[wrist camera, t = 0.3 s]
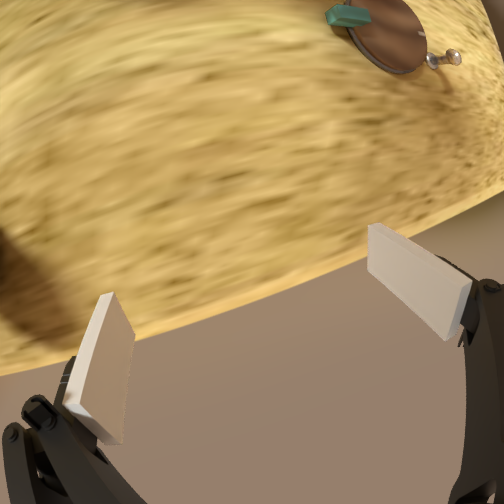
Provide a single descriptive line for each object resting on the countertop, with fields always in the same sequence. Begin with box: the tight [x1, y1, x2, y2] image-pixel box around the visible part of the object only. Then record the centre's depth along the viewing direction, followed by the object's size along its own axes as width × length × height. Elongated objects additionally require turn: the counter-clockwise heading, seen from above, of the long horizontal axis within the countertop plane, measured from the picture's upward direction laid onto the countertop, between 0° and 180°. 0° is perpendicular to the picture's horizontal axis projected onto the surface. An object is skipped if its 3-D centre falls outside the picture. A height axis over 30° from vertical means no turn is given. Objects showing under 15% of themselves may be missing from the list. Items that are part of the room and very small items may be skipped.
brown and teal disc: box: [325, 0, 427, 71], centre depth 29 cm, size 17×22×4 cm
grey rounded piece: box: [425, 49, 461, 69], centre depth 31 cm, size 4×4×9 cm
